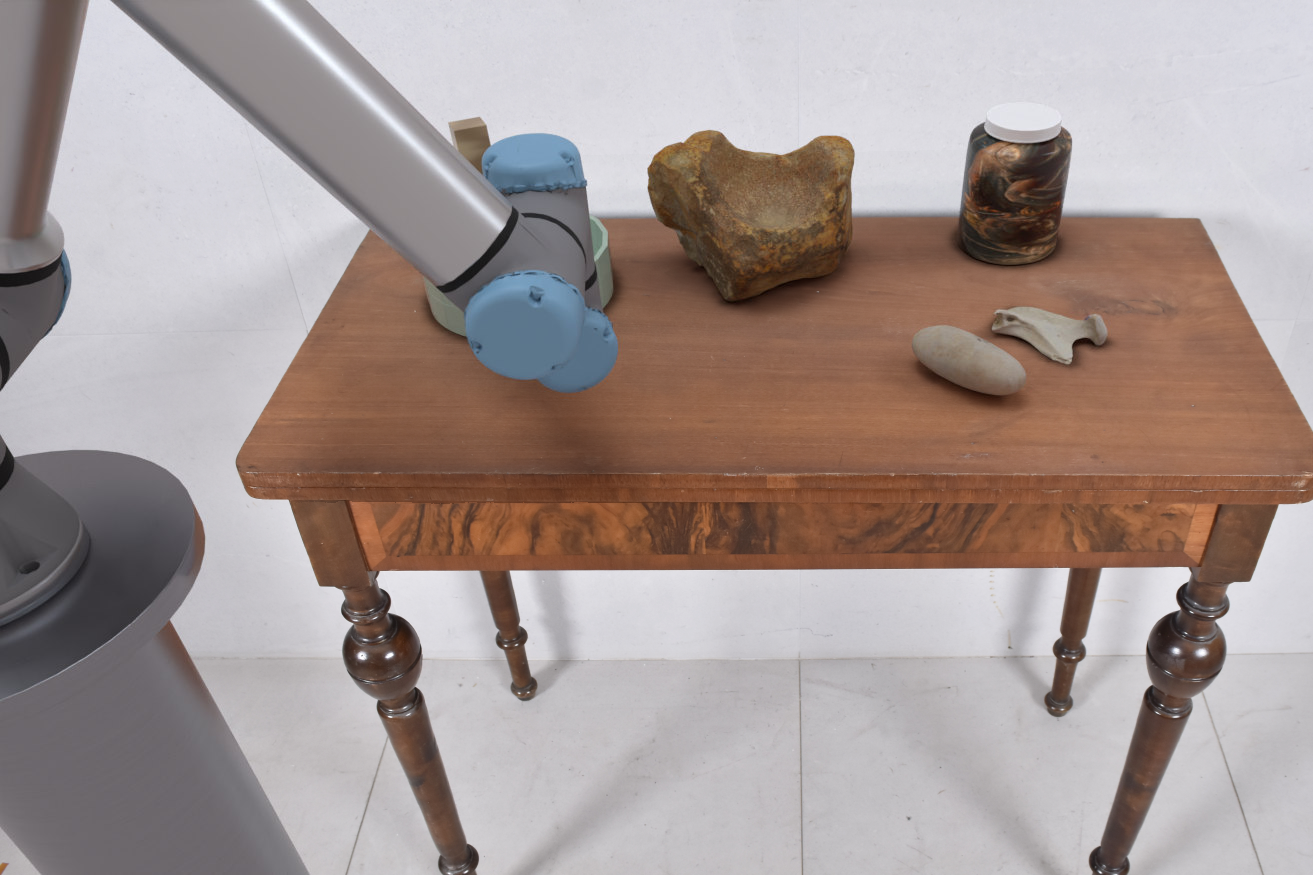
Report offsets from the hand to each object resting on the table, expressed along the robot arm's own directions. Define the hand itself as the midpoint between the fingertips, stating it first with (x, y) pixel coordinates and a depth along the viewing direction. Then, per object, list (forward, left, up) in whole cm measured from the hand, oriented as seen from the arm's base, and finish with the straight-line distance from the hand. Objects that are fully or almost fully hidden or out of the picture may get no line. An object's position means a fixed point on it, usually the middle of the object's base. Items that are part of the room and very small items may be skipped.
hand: (472, 178), depth 113 cm
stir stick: (0, -6, -9) cm, 10 cm away
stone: (+38, -39, -13) cm, 56 cm away
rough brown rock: (+28, -11, -13) cm, 32 cm away
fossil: (+50, -36, -13) cm, 63 cm away
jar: (+58, -16, -13) cm, 61 cm away
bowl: (+3, -3, -13) cm, 13 cm away
